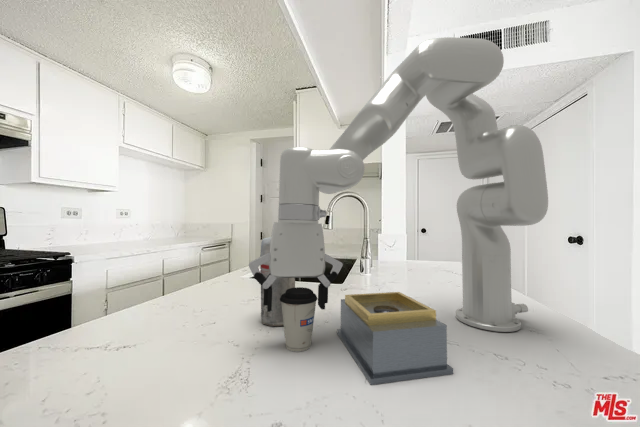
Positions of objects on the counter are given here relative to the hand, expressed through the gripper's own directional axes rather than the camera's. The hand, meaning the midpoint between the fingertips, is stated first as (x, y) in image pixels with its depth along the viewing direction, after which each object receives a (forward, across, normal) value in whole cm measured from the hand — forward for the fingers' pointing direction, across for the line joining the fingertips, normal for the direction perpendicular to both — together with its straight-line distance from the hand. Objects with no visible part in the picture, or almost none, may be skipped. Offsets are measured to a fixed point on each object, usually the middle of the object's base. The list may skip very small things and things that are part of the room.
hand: (295, 308), depth 48 cm
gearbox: (+6, -16, +5) cm, 18 cm away
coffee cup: (+7, -1, 0) cm, 7 cm away
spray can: (+7, +2, -13) cm, 15 cm away
